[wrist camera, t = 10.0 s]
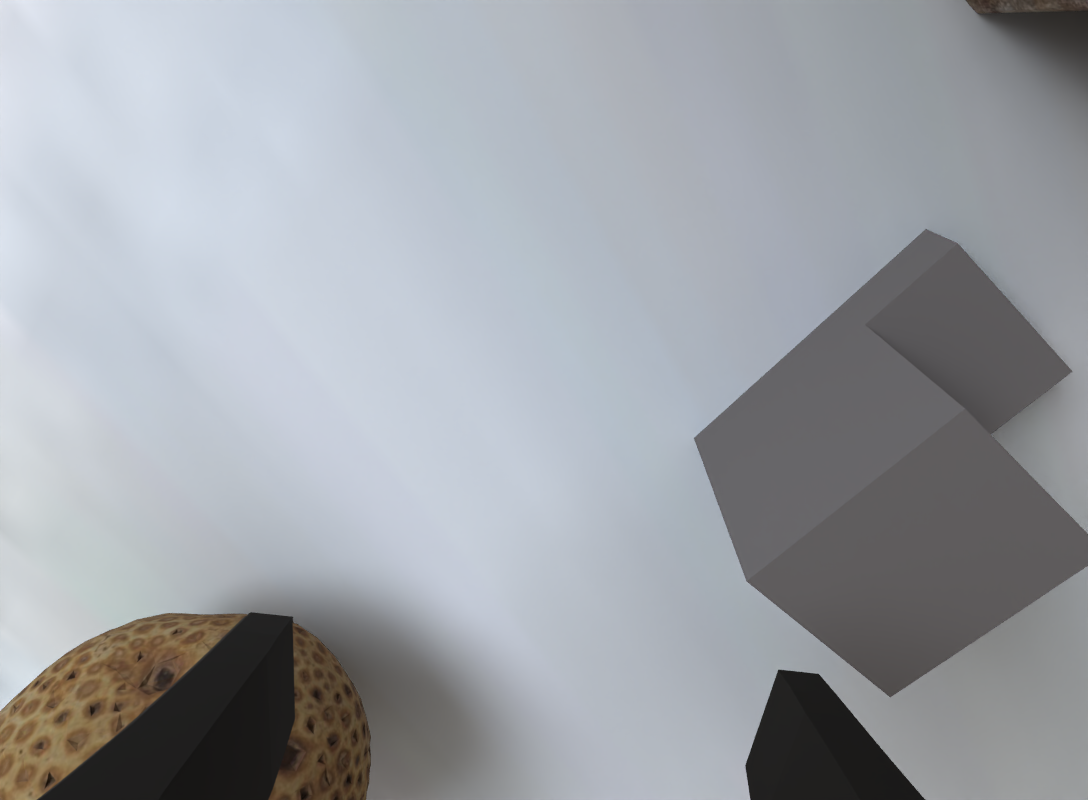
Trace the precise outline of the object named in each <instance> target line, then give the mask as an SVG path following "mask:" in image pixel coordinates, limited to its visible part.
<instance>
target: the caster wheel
mask: <svg viewBox="0 0 1088 800" xmlns="http://www.w3.org/2000/svg"><path fill="white" fill-rule="evenodd" d="M966 1H967V3H968V4H969V5H970V6H971V7H972V8H973V9H974V10H975V11H976V12H977V13H1019V12H1059V11H1088V0H966Z"/></svg>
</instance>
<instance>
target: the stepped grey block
mask: <svg viewBox="0 0 1088 800" xmlns="http://www.w3.org/2000/svg"><path fill="white" fill-rule="evenodd" d="M1071 372H1072V371H1071V369H1070V368H1069V367H1068V366H1067V365H1066V364H1065V363H1064V362H1063V360H1062V359H1061V358H1060V357H1059V356H1058V355H1057V354H1056V353H1055V352H1054V350H1053V349H1052V348H1051V347H1050V346H1049V345H1048V344H1047V343H1046V341H1045V340H1044V339H1043V338H1042V337H1041V336H1040V335H1039V334H1038V333H1037V331H1036V330H1035V329H1034V328H1033V327H1032V326H1031V325H1030V324H1029V322H1028V321H1027V320H1026V319H1025V318H1024V317H1023V316H1022V315H1021V314H1020V312H1019V311H1018V310H1017V309H1016V308H1015V307H1014V306H1013V305H1012V304H1011V302H1010V301H1009V300H1008V299H1007V298H1006V297H1005V296H1004V295H1003V293H1002V292H1001V291H1000V290H999V289H998V288H997V287H996V286H995V285H994V283H993V282H992V281H991V280H990V279H989V278H988V277H987V276H986V274H985V273H984V272H983V271H982V270H981V269H980V268H979V267H978V266H977V264H976V263H975V262H974V261H973V260H972V259H971V258H970V257H969V255H968V254H967V253H966V252H965V251H964V250H963V249H962V248H961V247H960V245H959V244H958V243H956V242H954V241H951V240H949V239H947V238H945V237H942V236H940V235H938V234H935V233H933V232H931V231H929V230H925V231H923V232H922V233H921V234H920V235H919V236H918V237H917V238H916V239H915V240H913V241H912V242H911V243H910V244H909V245H908V246H907V247H906V248H905V249H904V250H902V251H901V252H900V253H899V254H898V255H897V256H896V257H895V258H894V259H892V260H891V261H890V262H889V263H888V264H887V265H886V266H885V267H884V268H882V269H881V270H880V271H879V272H878V273H877V274H876V275H875V276H874V277H872V278H871V279H870V280H869V281H868V282H867V283H866V284H865V285H864V286H862V287H861V288H860V289H859V290H858V291H857V292H856V293H855V294H854V295H852V296H851V297H850V298H849V299H848V300H847V301H846V302H845V303H844V304H842V305H841V306H840V307H839V308H838V309H837V310H836V311H835V312H834V313H832V314H831V315H830V316H829V317H828V318H827V319H826V320H825V321H824V322H822V323H821V324H820V325H819V326H818V327H817V328H816V329H815V330H814V331H812V332H811V333H810V334H809V335H808V336H807V337H806V338H805V339H804V340H802V341H801V342H800V343H799V344H798V345H797V346H796V347H795V348H794V349H792V350H791V351H790V352H789V353H788V354H787V355H786V356H785V357H784V358H782V359H781V360H780V361H779V362H778V363H777V364H776V365H775V366H774V367H772V368H771V369H770V370H769V371H768V372H767V373H766V374H765V375H764V376H763V377H761V378H760V379H759V380H758V381H757V382H756V383H755V384H754V385H753V386H751V387H750V388H749V389H748V390H747V391H746V392H745V393H744V394H743V395H741V396H740V397H739V398H738V399H737V400H736V401H735V402H734V403H733V404H731V405H730V406H729V407H728V408H727V409H726V410H725V411H724V412H723V413H721V414H720V415H719V416H718V417H717V418H716V419H715V420H714V421H713V422H711V423H710V424H709V425H708V426H707V427H706V428H705V429H704V430H703V431H701V432H700V433H699V434H698V435H697V436H696V437H695V438H694V439H695V442H696V445H697V448H698V450H699V453H700V456H701V458H702V461H703V464H704V467H705V469H706V472H707V475H708V477H709V480H710V483H711V486H712V488H713V491H714V494H715V496H716V499H717V502H718V505H719V507H720V510H721V513H722V516H723V518H724V521H725V524H726V526H727V529H728V532H729V535H730V537H731V540H732V543H733V545H734V548H735V551H736V554H737V556H738V559H739V562H740V564H741V567H742V570H743V573H744V575H745V578H746V581H747V582H748V583H749V584H751V585H752V586H753V587H754V588H756V589H757V590H758V591H759V592H761V593H762V594H763V595H764V596H766V597H767V598H768V599H769V600H771V601H772V602H773V603H774V604H776V605H777V606H778V607H779V608H780V609H782V610H783V611H784V612H785V613H787V614H788V615H789V616H790V617H792V618H793V619H794V620H795V621H797V622H798V623H799V624H800V625H802V626H803V627H804V628H805V629H806V630H808V631H809V632H810V633H811V634H813V635H814V636H815V637H816V638H818V639H819V640H820V641H821V642H823V643H824V644H825V645H826V646H828V647H829V648H830V649H831V650H832V651H834V652H835V653H836V654H837V655H839V656H840V657H841V658H842V659H844V660H845V661H846V662H847V663H849V664H850V665H851V666H852V667H854V668H855V669H856V670H857V671H859V672H860V673H861V674H862V675H863V676H865V677H866V678H867V679H868V680H870V681H871V682H872V683H873V684H875V685H876V686H877V687H878V688H880V689H881V690H882V691H883V692H885V693H886V694H887V695H888V696H889V697H891V696H893V695H894V694H896V693H897V692H899V691H900V690H902V689H903V688H905V687H906V686H908V685H909V684H911V683H912V682H914V681H915V680H917V679H918V678H920V677H921V676H923V675H924V674H926V673H927V672H929V671H930V670H932V669H933V668H935V667H936V666H938V665H939V664H941V663H942V662H944V661H945V660H947V659H948V658H950V657H951V656H953V655H954V654H956V653H957V652H959V651H960V650H962V649H963V648H965V647H966V646H968V645H969V644H971V643H972V642H974V641H975V640H977V639H978V638H980V637H981V636H983V635H984V634H986V633H987V632H989V631H990V630H992V629H993V628H995V627H996V626H998V625H999V624H1001V623H1002V622H1004V621H1005V620H1007V619H1008V618H1010V617H1011V616H1013V615H1014V614H1016V613H1017V612H1019V611H1020V610H1022V609H1023V608H1025V607H1026V606H1028V605H1029V604H1031V603H1032V602H1034V601H1035V600H1037V599H1038V598H1040V597H1041V596H1043V595H1044V594H1046V593H1047V592H1049V591H1050V590H1052V589H1053V588H1055V587H1056V586H1058V585H1059V584H1061V583H1062V582H1064V581H1065V580H1067V579H1068V578H1070V577H1071V576H1073V575H1074V574H1076V573H1078V572H1079V571H1081V570H1082V569H1084V568H1085V567H1087V566H1088V534H1087V533H1086V532H1085V531H1084V530H1083V529H1082V528H1081V527H1080V526H1079V525H1078V524H1077V522H1076V521H1075V520H1074V519H1073V518H1072V517H1071V516H1070V515H1069V514H1068V513H1067V512H1066V511H1065V510H1064V509H1063V508H1062V507H1061V506H1060V505H1059V504H1058V503H1057V502H1056V501H1055V500H1054V499H1053V498H1052V497H1051V496H1050V495H1049V494H1048V493H1047V492H1046V491H1045V490H1044V489H1043V488H1042V487H1041V486H1040V485H1039V484H1038V483H1037V482H1036V481H1035V480H1034V479H1033V478H1032V477H1031V476H1030V475H1029V473H1028V472H1027V471H1026V470H1025V469H1024V468H1023V467H1022V466H1021V465H1020V464H1019V463H1018V462H1017V461H1016V460H1015V459H1014V458H1013V457H1012V456H1011V455H1010V454H1009V453H1008V452H1007V451H1006V450H1005V449H1004V448H1003V447H1002V446H1001V445H1000V444H999V443H998V442H997V441H996V440H995V439H994V438H993V437H992V436H991V435H990V434H991V433H993V432H994V431H995V430H997V429H998V428H999V427H1001V426H1002V425H1003V424H1004V423H1006V422H1007V421H1008V420H1010V419H1011V418H1012V417H1014V416H1015V415H1016V414H1018V413H1019V412H1020V411H1021V410H1023V409H1024V408H1025V407H1027V406H1028V405H1029V404H1031V403H1032V402H1033V401H1035V400H1036V399H1037V398H1038V397H1040V396H1041V395H1042V394H1044V393H1045V392H1046V391H1048V390H1049V389H1050V388H1051V387H1053V386H1054V385H1055V384H1057V383H1058V382H1059V381H1061V380H1062V379H1063V378H1065V377H1066V376H1067V375H1068V374H1070V373H1071Z"/></svg>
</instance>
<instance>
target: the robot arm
mask: <svg viewBox="0 0 1088 800" xmlns="http://www.w3.org/2000/svg"><path fill="white" fill-rule="evenodd" d="M294 721H295V694H294V652H293V617H288V616H279V615H270V614H260V613H249V614H248V615H246V616H245V617H244V618H242V619H241V620H240V621H239V622H238V623H237V624H236V625H235V626H234V627H233V628H232V629H231V630H230V631H229V632H228V633H227V634H226V635H225V636H224V637H223V638H222V639H221V640H220V641H219V642H218V643H217V644H216V645H215V646H214V647H212V648H211V649H210V650H209V651H208V652H207V653H206V654H205V655H204V656H203V657H202V658H201V659H200V660H199V661H198V662H197V663H196V664H195V665H194V666H193V667H191V668H190V669H189V670H188V671H187V672H186V673H185V674H184V675H183V676H182V677H181V678H180V679H179V680H178V681H177V682H175V683H174V684H173V685H172V686H171V687H170V688H169V689H168V690H167V691H166V692H164V693H163V694H162V695H161V696H160V697H159V698H158V699H157V700H155V701H154V702H153V703H152V704H151V705H150V706H149V707H148V708H147V709H145V710H144V711H143V712H142V713H141V714H140V715H139V716H138V717H136V718H135V719H134V720H133V721H132V722H131V723H130V724H129V725H127V726H126V727H125V728H124V729H123V730H122V731H121V732H119V733H118V734H117V735H116V736H115V737H113V738H112V739H111V740H110V741H109V742H107V743H106V744H105V745H104V746H103V747H101V748H100V749H99V750H98V751H96V752H95V753H94V754H93V755H92V756H90V757H89V758H88V759H87V760H86V761H84V762H83V763H82V764H81V765H79V766H78V767H77V768H76V769H75V770H73V771H72V772H71V773H70V774H69V775H67V776H66V777H65V778H64V779H62V780H61V781H60V782H59V783H57V784H56V785H55V786H54V787H52V788H51V789H50V790H49V791H47V792H46V793H45V794H43V795H42V796H41V797H39V798H38V799H37V800H268V799H269V797H270V795H271V792H272V790H273V787H274V784H275V781H276V778H277V775H278V772H279V768H280V765H281V762H282V759H283V756H284V753H285V750H286V747H287V743H288V740H289V737H290V734H291V730H292V727H293V724H294ZM745 766H746V772H747V779H748V786H749V793H750V799H751V800H925V799H924V798H923V797H922V796H921V794H920V793H919V792H918V791H917V790H916V789H915V787H914V786H913V785H912V784H911V783H910V782H909V781H908V779H907V778H906V777H905V776H904V775H903V774H902V772H901V771H900V770H899V769H898V768H897V767H896V765H895V764H894V763H893V762H892V761H891V760H890V758H889V757H888V756H887V755H886V754H885V752H884V751H883V750H882V749H881V748H880V746H879V745H878V744H877V743H876V742H875V741H874V739H873V738H872V737H871V736H870V735H869V733H868V732H867V731H866V730H865V729H864V727H863V726H862V725H861V724H860V723H859V721H858V720H857V719H856V718H855V717H854V715H853V714H852V713H851V712H850V710H849V709H848V708H847V707H846V706H845V704H844V703H843V702H842V701H841V700H840V698H839V697H838V696H837V695H836V694H835V692H834V691H833V690H832V689H831V688H830V687H829V685H828V684H827V683H826V682H825V681H824V680H823V678H822V677H821V676H820V675H819V674H814V673H804V672H795V671H786V670H778V673H777V675H776V678H775V681H774V684H773V687H772V690H771V693H770V696H769V699H768V702H767V704H766V707H765V710H764V713H763V716H762V719H761V722H760V725H759V728H758V731H757V734H756V736H755V739H754V742H753V745H752V748H751V751H750V754H749V757H748V760H747V763H746V765H745Z"/></svg>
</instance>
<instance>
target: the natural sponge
mask: <svg viewBox="0 0 1088 800" xmlns="http://www.w3.org/2000/svg"><path fill="white" fill-rule="evenodd" d="M246 615H247V614H215V615H198V614H183V613H166V614H161V615H156V616H152V617H147V618H142V619H138V620H135V621H132V622H130V623H128V624H125V625H123V626H121V627H118V628H115V629H112V630H109V631H107V632H105V633H103V634H101V635H99V636H96V637H94V638H92V639H90V640H88V641H86V642H84V643H82V644H81V645H79V646H77V647H76V648H74V649H73V650H71V651H69V652H68V653H66V654H65V655H64V656H62V657H61V658H60V659H58V660H57V661H56V662H54V663H53V664H52V665H50V666H49V667H48V668H46V669H45V670H44V671H43V672H42V673H41V674H40V675H39V676H38V677H37V678H35V679H34V680H33V681H32V682H31V683H30V684H29V685H28V686H27V687H26V688H24V689H23V690H22V691H21V692H20V693H19V694H18V695H17V696H15V697H14V698H13V699H12V700H11V701H10V702H9V703H8V704H7V705H6V706H5V707H4V708H3V709H2V710H1V711H0V800H37V799H38V798H39V797H41V796H42V795H43V794H45V793H46V792H47V791H49V790H50V789H51V788H52V787H54V786H55V785H56V784H57V783H59V782H60V781H61V780H62V779H64V778H65V777H66V776H67V775H69V774H70V773H71V772H72V771H73V770H75V769H76V768H77V767H78V766H79V765H81V764H82V763H83V762H84V761H86V760H87V759H88V758H89V757H90V756H92V755H93V754H94V753H95V752H96V751H98V750H99V749H100V748H101V747H103V746H104V745H105V744H106V743H107V742H109V741H110V740H111V739H112V738H113V737H115V736H116V735H117V734H118V733H119V732H121V731H122V730H123V729H124V728H125V727H126V726H127V725H129V724H130V723H131V722H132V721H133V720H134V719H135V718H136V717H138V716H139V715H140V714H141V713H142V712H143V711H144V710H145V709H147V708H148V707H149V706H150V705H151V704H152V703H153V702H154V701H155V700H157V699H158V698H159V697H160V696H161V695H162V694H163V693H164V692H166V691H167V690H168V689H169V688H170V687H171V686H172V685H173V684H174V683H175V682H177V681H178V680H179V679H180V678H181V677H182V676H183V675H184V674H185V673H186V672H187V671H188V670H189V669H190V668H191V667H193V666H194V665H195V664H196V663H197V662H198V661H199V660H200V659H201V658H202V657H203V656H204V655H205V654H206V653H207V652H208V651H209V650H210V649H211V648H212V647H214V646H215V645H216V644H217V643H218V642H219V641H220V640H221V639H222V638H223V637H224V636H225V635H226V634H227V633H228V632H229V631H230V630H231V629H232V628H233V627H234V626H235V625H236V624H237V623H238V622H239V621H240V620H241V619H242V618H244V617H245V616H246ZM293 652H294V694H295V721H294V724H293V727H292V730H291V734H290V737H289V740H288V743H287V747H286V750H285V753H284V756H283V759H282V762H281V765H280V768H279V772H278V775H277V778H276V781H275V784H274V787H273V790H272V792H271V795H270V797H269V799H268V800H366V793H367V789H368V784H369V773H370V765H371V754H370V739H371V736H370V731H369V727H368V723H367V719H366V715H365V712H364V708H363V705H362V701H361V698H360V696H359V695H358V693H357V691H356V689H355V687H354V685H353V683H352V682H351V680H350V679H349V677H348V676H347V674H346V672H345V671H344V669H343V668H342V666H341V665H340V663H339V662H338V660H337V659H336V657H335V656H334V655H333V654H332V653H331V652H330V651H329V650H328V649H327V648H326V647H325V646H324V645H323V644H322V643H321V642H320V640H319V639H318V638H317V637H315V636H314V635H312V634H311V633H309V632H308V631H306V630H305V629H303V628H302V627H301V626H299V625H298V624H295V623H293Z"/></svg>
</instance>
